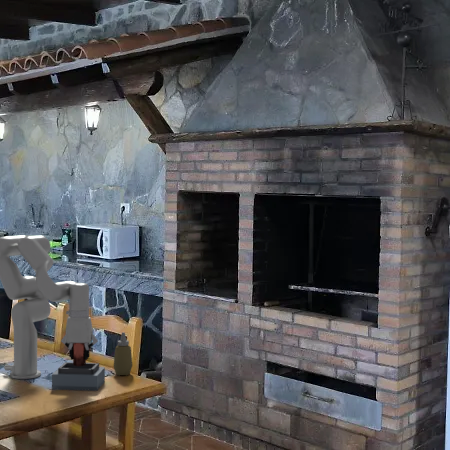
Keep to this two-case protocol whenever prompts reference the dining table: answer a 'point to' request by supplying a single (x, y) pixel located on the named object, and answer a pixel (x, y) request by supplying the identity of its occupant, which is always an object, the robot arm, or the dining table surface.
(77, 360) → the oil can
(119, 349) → the squeeze bottle
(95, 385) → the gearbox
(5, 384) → the dining table surface
